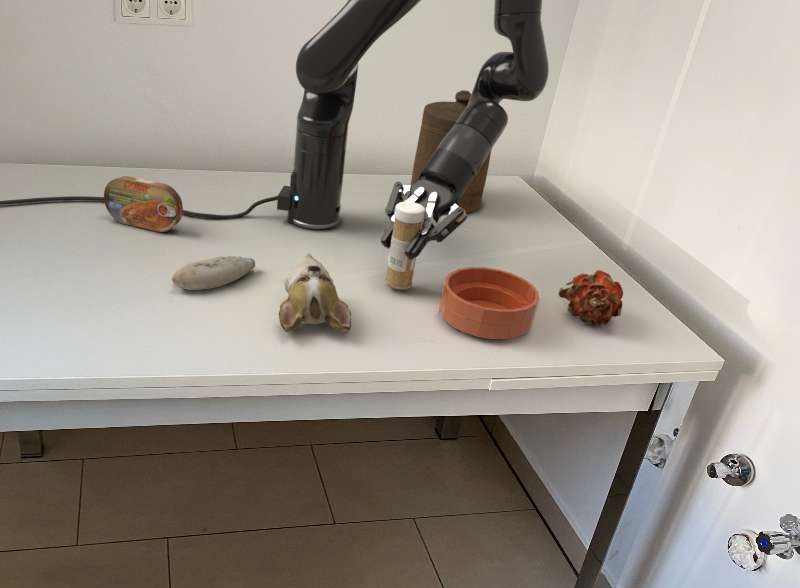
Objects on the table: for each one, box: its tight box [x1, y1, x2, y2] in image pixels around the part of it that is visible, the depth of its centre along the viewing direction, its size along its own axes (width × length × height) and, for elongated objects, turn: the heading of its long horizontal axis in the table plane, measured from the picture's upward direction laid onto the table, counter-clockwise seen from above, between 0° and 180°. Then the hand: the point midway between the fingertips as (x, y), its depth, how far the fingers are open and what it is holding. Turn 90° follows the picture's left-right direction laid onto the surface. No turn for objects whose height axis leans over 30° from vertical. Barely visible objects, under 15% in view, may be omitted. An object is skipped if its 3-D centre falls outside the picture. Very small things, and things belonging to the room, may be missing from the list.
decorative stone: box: [171, 255, 256, 291], centre depth 126 cm, size 6×16×3 cm, turn 130°
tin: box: [103, 175, 184, 233], centre depth 140 cm, size 15×3×8 cm, turn 68°
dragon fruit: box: [558, 269, 624, 326], centre depth 123 cm, size 8×8×12 cm
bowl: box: [438, 266, 540, 340], centre depth 121 cm, size 14×14×6 cm
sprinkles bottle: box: [384, 201, 425, 290], centre depth 125 cm, size 5×5×13 cm
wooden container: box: [408, 89, 493, 214], centre depth 157 cm, size 15×15×22 cm
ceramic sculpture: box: [278, 252, 352, 333], centre depth 117 cm, size 11×9×15 cm
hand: (396, 250), depth 124 cm, fingers closed on sprinkles bottle, 4 cm apart
